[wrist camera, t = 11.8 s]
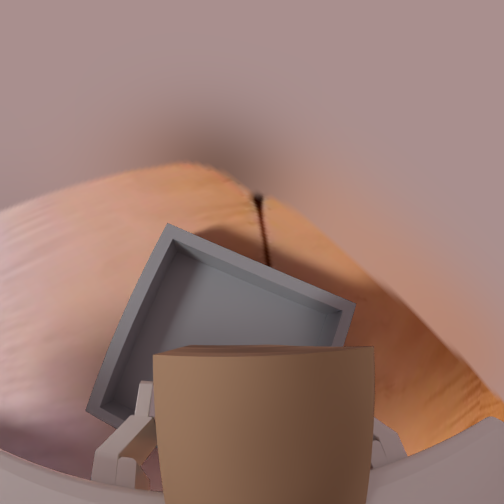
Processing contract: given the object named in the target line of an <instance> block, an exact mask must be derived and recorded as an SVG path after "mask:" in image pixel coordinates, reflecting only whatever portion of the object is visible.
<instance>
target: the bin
mask: <svg viewBox="0 0 504 504" xmlns="http://www.w3.org/2000/svg"><path fill="white" fill-rule="evenodd" d="M355 307H356V303H353V302H351V301H349V300H346V299H344V298H341V297H339V296H337V295H334V294H332V293H330V292H327V291H325V290H323V289H320V288H318V287H315V286H313V285H311V284H308V283H306V282H304V281H301V280H299V279H297V278H294V277H292V276H290V275H287V274H285V273H282V272H280V271H278V270H275V269H273V268H271V267H268V266H266V265H264V264H261V263H259V262H257V261H254V260H252V259H250V258H247V257H245V256H243V255H240V254H238V253H236V252H233V251H231V250H229V249H226V248H224V247H222V246H219V245H217V244H215V243H212V242H210V241H208V240H206V239H203V238H201V237H199V236H196V235H194V234H192V233H189V232H187V231H185V230H182V229H180V228H178V227H176V226H173V225H171V224H169V223H167V225H166V227H165V229H164V231H163V232H162V234H161V236H160V238H159V240H158V242H157V244H156V246H155V248H154V250H153V252H152V254H151V256H150V258H149V260H148V262H147V264H146V266H145V268H144V270H143V272H142V274H141V276H140V278H139V280H138V282H137V284H136V287H135V289H134V291H133V293H132V295H131V297H130V299H129V302H128V304H127V306H126V308H125V311H124V313H123V315H122V317H121V320H120V322H119V324H118V327H117V329H116V331H115V334H114V336H113V338H112V341H111V343H110V346H109V348H108V351H107V353H106V356H105V358H104V361H103V363H102V366H101V369H100V371H99V374H98V377H97V379H96V382H95V385H94V388H93V390H92V393H91V396H90V399H89V402H88V405H87V408H86V412H88V413H90V414H91V415H93V416H95V417H97V418H98V419H100V420H102V421H104V422H105V423H107V424H109V425H111V426H113V427H114V428H116V429H118V428H119V427H120V426H121V425H122V424H123V423H124V422H125V421H126V420H127V419H128V418H129V417H130V416H131V415H135V408H136V402H137V396H138V390H139V384H140V382H141V381H153V355H154V354H158V353H162V352H165V351H169V350H173V349H177V348H181V347H184V346H188V345H269V344H270V345H289V346H323V347H343V345H344V342H345V339H346V336H347V333H348V330H349V327H350V323H351V320H352V317H353V313H354V310H355ZM156 448H158V445H157V446H156Z"/></svg>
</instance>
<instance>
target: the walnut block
mask: <svg viewBox="0 0 504 504" xmlns="http://www.w3.org/2000/svg"><path fill="white" fill-rule="evenodd" d="M153 384H154V406H155V422H156V434H157V445H158V455H159V464H160V472H161V480H162V487H163V494H164V500H165V504H366V499H367V492H368V484H369V476H370V467H371V456H372V444H373V428H374V400H375V363H374V346H363V347H323V346H289V345H270V344H269V345H188V346H184V347H181V348H177V349H173V350H169V351H165V352H162V353H158V354H154V355H153Z"/></svg>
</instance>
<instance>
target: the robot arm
mask: <svg viewBox="0 0 504 504" xmlns="http://www.w3.org/2000/svg"><path fill="white" fill-rule="evenodd" d="M156 446H157V434H156V422H155V406H154V384H153V381H141V382H140V384H139V390H138V396H137V402H136V408H135V415H131V416H130V417H129V418H128V419H127V420H126V421H125V422H124V423H123V424H122V425H121V426H120V427H119V428H118V429H117V430H116V431H115V432H114V433H113V434H112V435H111V436H110V437H109V438H108V439H107V440H106V441H105V442H104V443H103V444H102V445H101V446H100V447H99V448H98V449H97V450H96V451H95V455H94V461H93V467H92V473H91V480H88V479H84V478H80V477H76V476H73V475H69V474H66V473H62V472H59V471H56V470H53V469H50V468H47V467H44V466H41V465H38V464H36V463H33V462H30V461H28V460H25V459H23V458H20V457H18V456H16V455H13V454H11V453H9V452H7V451H4V450H2V449H0V504H165V500H164V494H163V492H158V491H150V480H149V478H148V477H147V476H146V474H145V473H144V472H143V470H142V469H141V465H142V464H143V463H144V461H145V460H146V459H147V457H148V456H149V455H150V453H151V452H152V451H153V450H154V448H155V447H156ZM366 504H504V422H502V421H501V420H499V419H497V418H495V417H487V418H485V419H483V420H481V421H480V422H478V423H476V424H475V425H473V426H471V427H469V428H467V429H466V430H464V431H462V432H460V433H458V434H456V435H454V436H453V437H451V438H449V439H447V440H445V441H442V442H440V443H438V444H436V445H434V446H432V447H430V448H427V449H425V450H423V451H420V452H418V453H416V454H413V455H411V456H407V454H406V452H405V450H404V447H403V445H402V443H401V440H400V438H399V436H398V434H397V433H396V432H395V431H393V430H392V429H391V428H389V427H388V426H386V425H385V424H383V423H382V422H381V421H379V420H378V419H376V418H375V417H374V428H373V444H372V456H371V467H370V476H369V484H368V492H367V499H366Z"/></svg>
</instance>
